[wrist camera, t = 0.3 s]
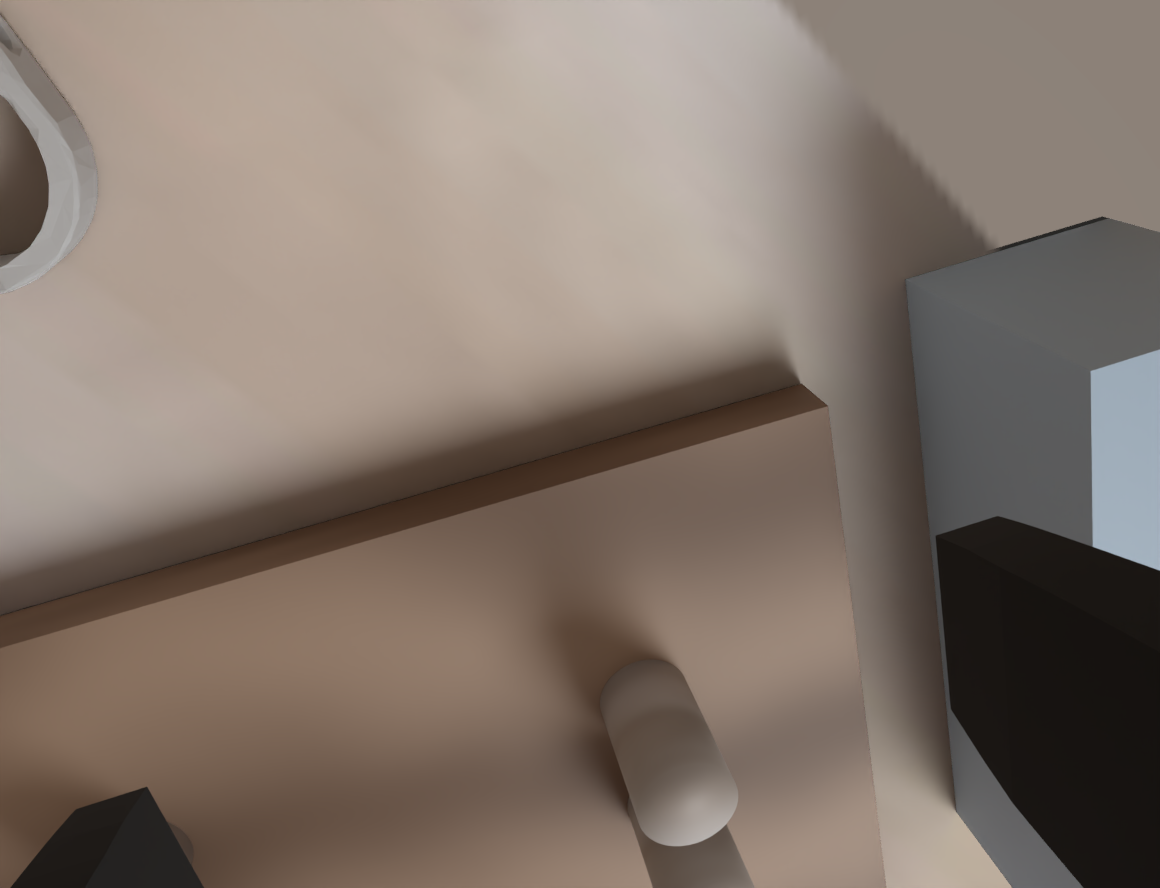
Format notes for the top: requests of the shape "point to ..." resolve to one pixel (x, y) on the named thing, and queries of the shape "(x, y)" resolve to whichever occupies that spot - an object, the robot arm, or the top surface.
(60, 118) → the bracket
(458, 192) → the top surface
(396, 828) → the peg stand
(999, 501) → the pale blue rectangular block
